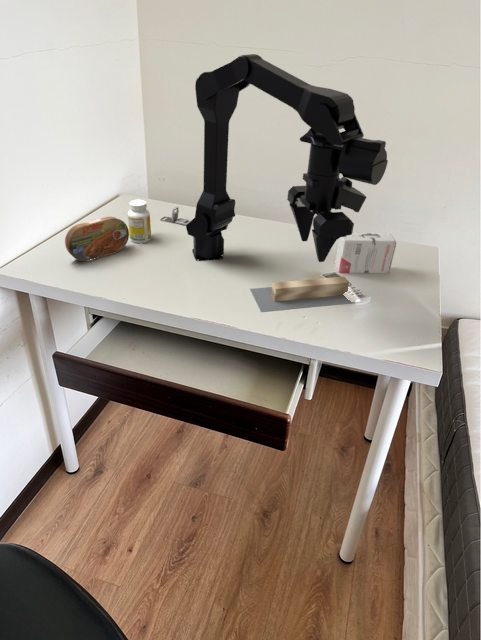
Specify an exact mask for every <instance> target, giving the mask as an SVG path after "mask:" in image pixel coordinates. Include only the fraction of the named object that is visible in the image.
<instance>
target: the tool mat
mask: <svg viewBox="0 0 481 640" xmlns="http://www.w3.org/2000/svg"><path fill="white" fill-rule="evenodd" d="M249 290H250V292H251V294H252V296H253V299H254V300H255V302H256V304H257V306H258V308H259V312H260V313H267V312H276V311H289V310H298V309H308V308H316V307H327V306H337V305H339V306H340V305H345V304H346V305H348V304H355V303H354V302H351V301H350V300H348V299H347V298H346V297H345V296H344V295H338V296H328V297H317V298H307V299H296V300H285V301H274V300H273V298H272V296H271V291H272V286H267V287H257V288H256V287H255V288H249Z"/></svg>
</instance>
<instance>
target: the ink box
mask: <svg viewBox="0 0 481 640" xmlns="http://www.w3.org/2000/svg"><path fill="white" fill-rule="evenodd" d="M337 244H338V245H337V251H336V256H335V262H334V265H335V267H336V269H337V272H338V273H339V274H388V273H390V272H391V268H392V263H393V259H394V256H395V250H396V247H397V239H395V237H393V235H392V233H389V232H383V233H382V232H378V233H377V232H352V234H351V235H347V236H345V237H340V238H339V239H338V243H337Z"/></svg>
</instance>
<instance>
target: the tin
mask: <svg viewBox="0 0 481 640" xmlns="http://www.w3.org/2000/svg"><path fill="white" fill-rule="evenodd" d="M129 239H130V234H129V226H128V225H127V223H125V221H124V220H122V219H120V218H117V217H115V216H105V217H101V218H97V219H94V220H90V221H86V222H82V223H78V224H76V225H74V226H72V227H71V228H70V229H69V230H68V231H67V232H66V235H65V238H64V244H65V248H66V250H67V252H68V253H69V254H70V255H71V256H72V257H73V258H74V259H75V260H77V261H80V262H88V261H87V260H90V259H93V260H95V259H94V258H96V259H98V258H97V257H99V258H102V257H105V255H106V256H108V255H109V256H110V255H111V254H115V252H116V253H119V252H120V251H122V250H123V248H125V247H126V245H127V244H128V242H129ZM101 256H102V257H101ZM90 261H91V260H90Z"/></svg>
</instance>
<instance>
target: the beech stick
mask: <svg viewBox="0 0 481 640" xmlns="http://www.w3.org/2000/svg"><path fill="white" fill-rule="evenodd" d="M349 285H350V282H349V280H348V279H347V278H346V277H345V276H336V277H334V276H333V277H326V278H325V277H324V278H321V277H320V278H312V279H310V278H309V279H300V280H288V281H278V282H272V283H271V287H272V291H271V296H272V298H273V300H274V301H285V300H296V299H307V298H317V297H328V296H338V295H343V294H344V293H345V292H347V291H348V286H349Z"/></svg>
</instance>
